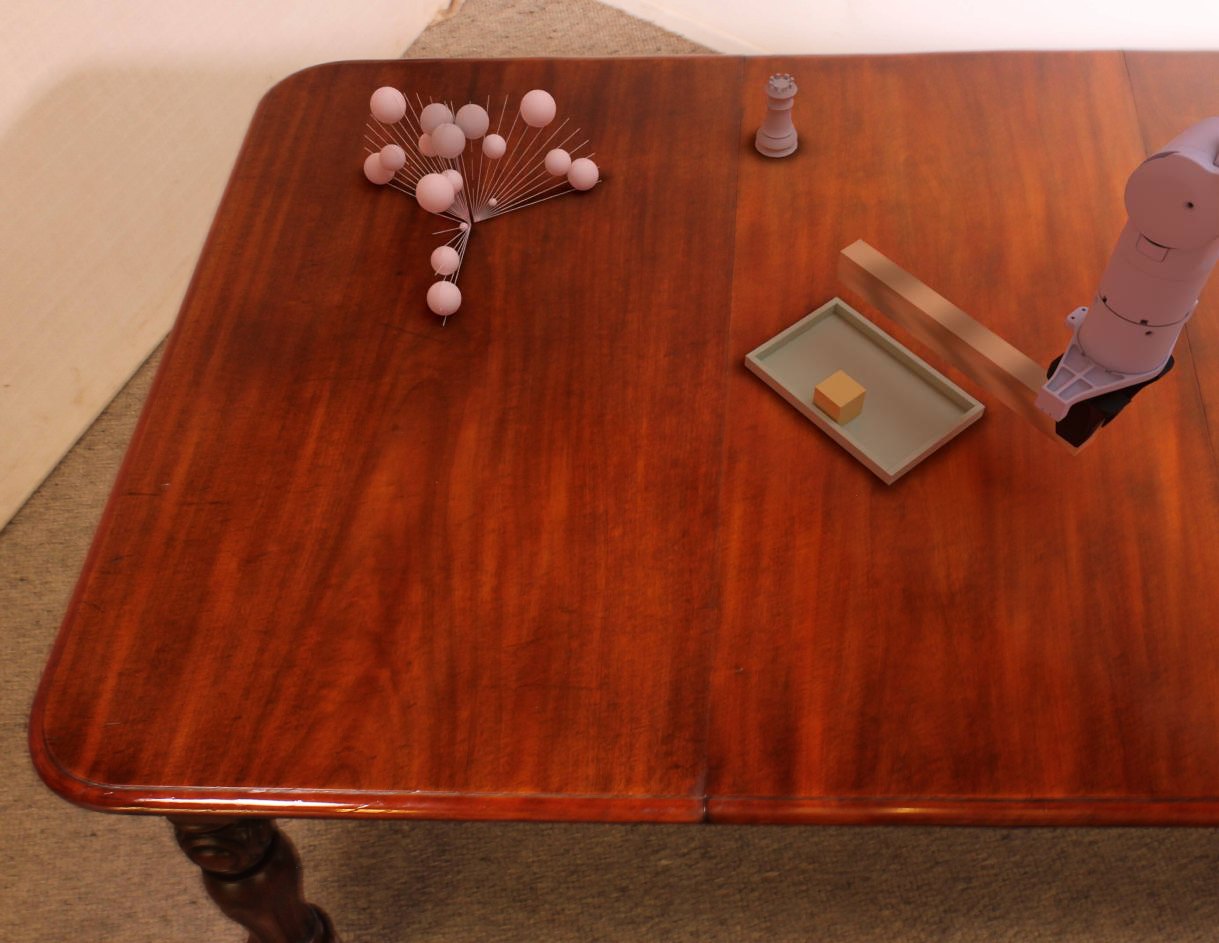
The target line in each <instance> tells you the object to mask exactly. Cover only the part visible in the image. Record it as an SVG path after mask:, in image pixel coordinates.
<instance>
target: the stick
mask: <svg viewBox="0 0 1219 943" xmlns="http://www.w3.org/2000/svg"><path fill="white" fill-rule="evenodd" d="M836 267H837V268H836V271H835V280H836V281H838V282H839V283H840V284H842V286H844V287H846V288H847V289H848V290H850V292H852V293H854V294H855V295H856V296H858V297H859V298H861V300H863V301H864V302H866V303H867V304H869V305H870V306H871V307H873V308H874V309H875V310H876V311H878V312H879V313H880V314H882V315H883V316H884V317H886V318H887V319H889V320H890V321H892V323H894V324H896V325H897V326H898V327H900V328H901V329H902V330H904V331H905V332H907V333H908V334H909V335H911V336H912V337H913V338H915V339H916V340H917V341H918V342H920V343H921V344H922V345H924V347H926V348H928V349H929V350H930V351H932V352H933V353H934V354H936V355H937V356H939V357H940V358H941V359H942V360H944V361H945V362H947V363H948V364H949V365H951V366H952V367H954V368H955V369H956V370H958V371H959V372H960V373H961V374H963V375H964V376H966V377H967V378H968V379H970V380H971V381H972V382H974V383H975V384H976V385H978V386H979V387H980V388H982V389H983V390H985V391H986V392H987V393H988V394H990V395H991V396H992V397H994V398H995V399H996V400H998V401H999V402H1001V403H1002V404H1003V405H1005V406H1006V407H1007V408H1009V409H1010V410H1011V411H1013V412H1014V413H1015V414H1017V415H1018V416H1019V417H1021V418H1022V419H1023V420H1025V421H1026V422H1028V424H1031V425H1032V426H1033V427H1034V428H1035V429H1037V430H1039V432H1041V433H1043V435H1045V436H1046V437H1047V438H1049V439H1050V440H1051V441H1053V442H1055V443H1056V444H1057V445H1058V446H1060V447H1061V448H1062V449H1064V450H1065V451H1067V452H1068V453H1069V454H1071V455H1072V456H1073V457H1076V456H1077V455H1078V454H1079V453H1081V451H1083V450H1084V449H1086V448H1087V447H1088V446H1090V444H1092V443H1093V442H1094V441H1095V439H1096V438H1097V436H1098V434H1099V433H1100V430H1101V429H1102V425H1103V423H1104V421H1105V420H1104V421H1103V422H1102V423H1101V424H1100V426H1099V427H1098V428H1097V430H1096V431H1095V432H1094V433H1093V435H1092V436H1091V437H1090V438H1089V439H1088V440H1087V441H1086V442H1085V443H1083V444H1082V445H1081V446H1080V447H1078V448H1075V447H1074V446H1072V445H1071V444H1070V443H1068V442H1067V441H1066V440H1064V439H1063V438H1061V437H1060V436H1059V435H1057V434H1056V432H1055V423H1056V420H1054V419H1053V418H1051V417H1049V416H1048V415H1047V414H1045V413H1044V412H1042V411H1041V410H1040V409H1039V408H1037V407H1036V406H1035V405H1034V404H1035V401H1036V399H1037V397H1038V394H1039V392H1040V389H1041V387H1042V386H1043V385H1044V384H1045V383H1046V382H1048V379H1047V376H1046V375H1047V371H1048V369H1047V370H1046V369H1045V368H1044V367H1042V366H1041V365H1039V364H1038V363H1037V362H1035V361H1034V360H1032V359H1031V358H1030V357H1028V356H1027V355H1025V354H1024V353H1023V352H1021V351H1020V350H1018V349H1017V348H1016V347H1014V346H1013V345H1011V344H1010V343H1009V342H1007V341H1005V339H1003V338H1001V337H1000V336H999V335H997V334H996V333H994V332H993V331H991V330H990V329H988V328H987V327H986V326H984V325H983V324H981V323H980V322H979V321H977V320H976V319H974V318H973V317H972V316H970V315H969V314H967V313H966V312H965V311H963V310H962V309H960V308H959V307H957V306H956V305H955V304H953V303H952V302H950V301H949V300H948V299H946V298H944V296H942V295H941V294H939V293H938V292H936V291H935V290H933V289H932V288H930V287H929V286H928V285H926V284H925V283H924V282H922V281H921V280H919V279H917V277H915V276H913V275H912V274H911V273H910V272H908V271H906V269H903V268H902V267H901V266H900V265H898V264H897V263H896V262H894V261H892V260H891V259H890V258H888V257H887V256H885V255H884V254H882V253H881V252H880V251H879V250H877V249H875V248H874V247H872V246H871V245H869V244H868V243H867V242H865V241H864V240H863V239H861V238H859V239H857V240H855V241H853V242H852V243H851V244H849V245H848V246H846V247H844V248H843V249H841V250H840V251H839V256H838V261H837V266H836Z"/></svg>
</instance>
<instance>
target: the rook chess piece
mask: <svg viewBox="0 0 1219 943" xmlns="http://www.w3.org/2000/svg"><path fill="white" fill-rule="evenodd" d="M768 79H769V80H768V83H766V84H765V86H764V91H765V94H766V95H767V96H768V97H767V98H766V100H765V104H766V106H767V110H766V115H765V119H764V121H763V122H762V123H761V126H760V127H759V128H758V129H757V131H756V135H755V138H756V139H755V143H754V146H755V148H756V150H757V151H758V152H759V153H760V154H762V155H763V156H766V157H768V158H776V159H779V158H786V157H788V156H789V155H791V154H792V153H794V152H795V150H796V149H797V148H798V132H797V130H796V128H795V125H794V123H793V121H792V107H793V105H794V99H793V97H794V96H795V95H796V94H797V92H798V86H797V85H796V83H795V78H794V76H791V77H790V74H788V73H784V76H783V77H782V74H781V73H780V72H779V73H775V76H773V75H771V76H770V77H769V78H768Z"/></svg>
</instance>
